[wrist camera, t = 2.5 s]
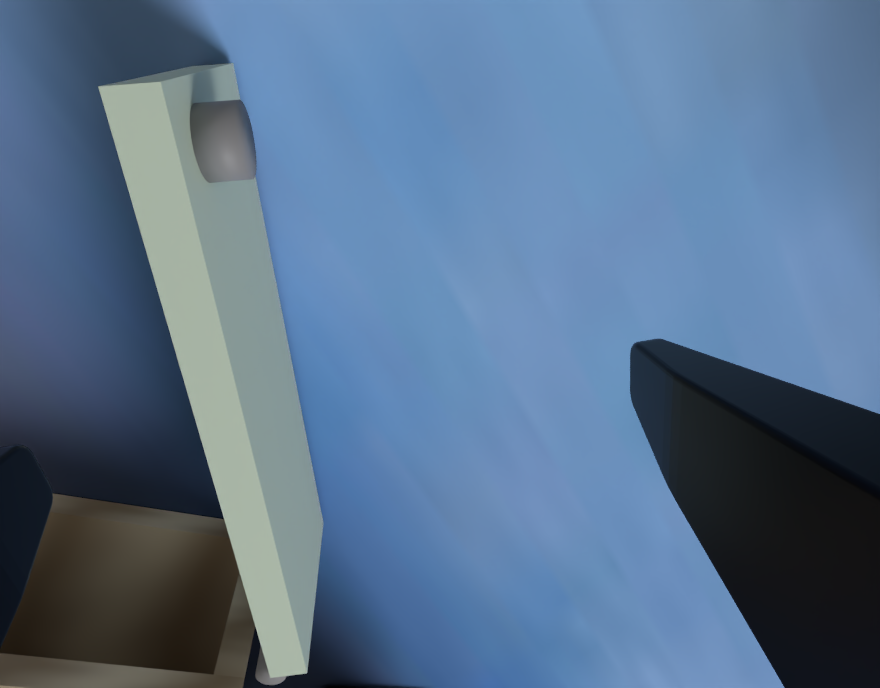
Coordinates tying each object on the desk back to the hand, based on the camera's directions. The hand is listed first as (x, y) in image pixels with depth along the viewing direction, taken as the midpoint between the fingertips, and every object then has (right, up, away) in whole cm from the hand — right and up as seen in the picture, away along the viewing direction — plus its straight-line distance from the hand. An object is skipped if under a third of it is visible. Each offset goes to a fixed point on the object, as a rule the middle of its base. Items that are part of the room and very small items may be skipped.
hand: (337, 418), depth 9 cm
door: (-4, +1, +13) cm, 14 cm away
